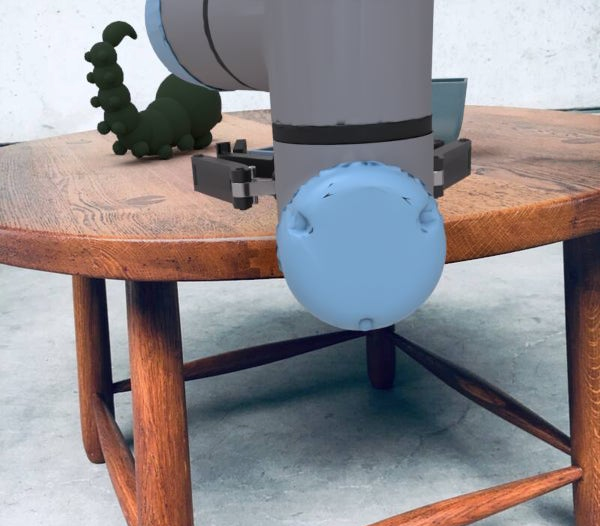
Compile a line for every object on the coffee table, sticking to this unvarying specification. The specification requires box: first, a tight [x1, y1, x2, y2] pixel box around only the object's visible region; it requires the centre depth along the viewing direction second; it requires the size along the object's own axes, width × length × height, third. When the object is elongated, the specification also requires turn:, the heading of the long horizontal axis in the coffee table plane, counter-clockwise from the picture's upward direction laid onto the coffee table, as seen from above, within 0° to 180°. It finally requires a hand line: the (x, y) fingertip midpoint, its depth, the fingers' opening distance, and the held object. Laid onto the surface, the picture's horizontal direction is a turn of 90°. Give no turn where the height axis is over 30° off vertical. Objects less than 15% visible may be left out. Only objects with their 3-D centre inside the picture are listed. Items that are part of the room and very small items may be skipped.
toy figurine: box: [83, 20, 223, 160], centre depth 124 cm, size 9×19×25 cm
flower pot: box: [431, 77, 469, 145], centre depth 112 cm, size 9×9×9 cm
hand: (326, 151), depth 73 cm, fingers open, 13 cm apart
